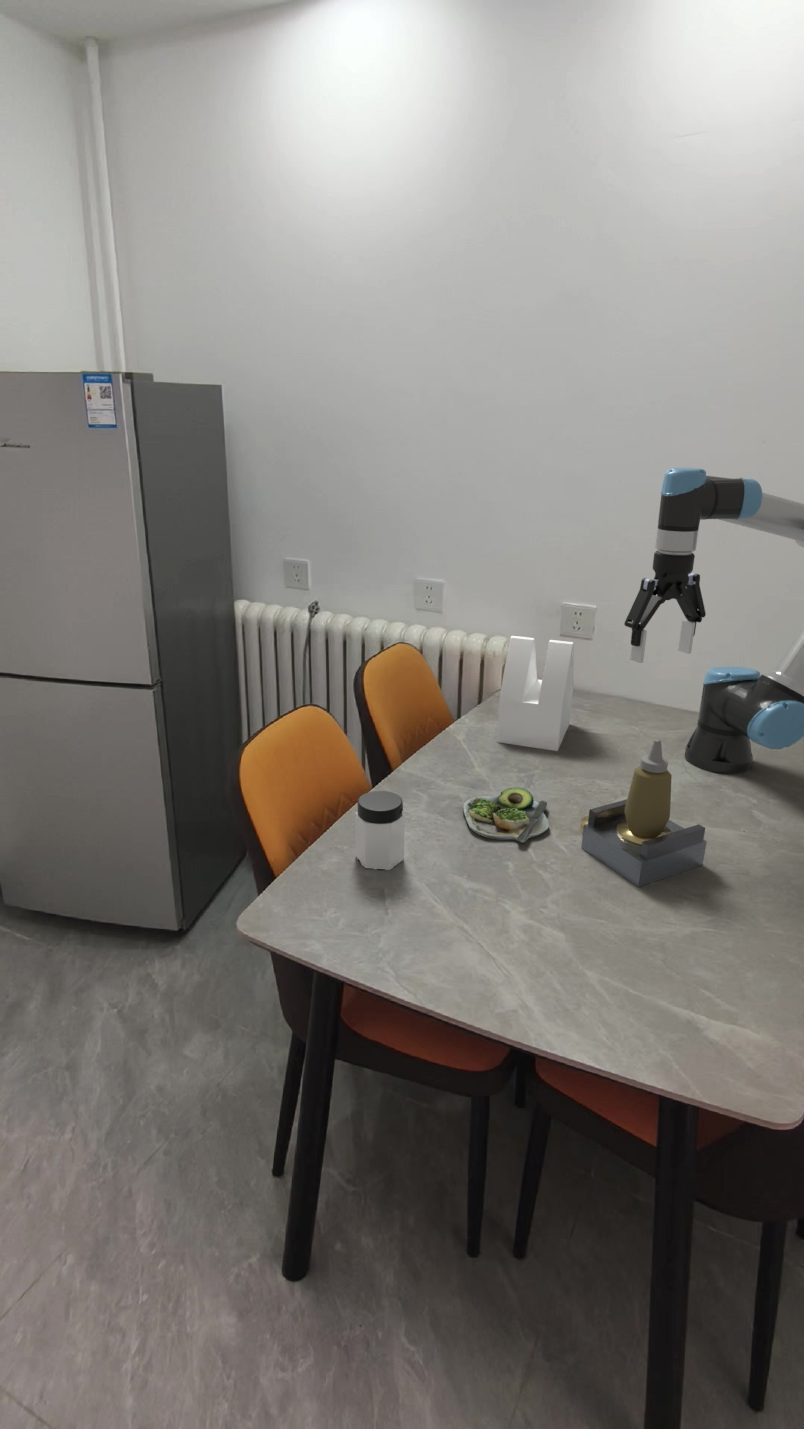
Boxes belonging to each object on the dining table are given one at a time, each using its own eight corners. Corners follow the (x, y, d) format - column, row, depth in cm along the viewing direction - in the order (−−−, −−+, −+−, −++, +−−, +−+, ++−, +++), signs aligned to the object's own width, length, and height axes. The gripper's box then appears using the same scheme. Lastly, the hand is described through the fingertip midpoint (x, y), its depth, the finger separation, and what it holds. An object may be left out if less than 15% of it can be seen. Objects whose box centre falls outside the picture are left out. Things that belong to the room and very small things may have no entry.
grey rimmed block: (643, 829, 158) (648, 793, 156) (702, 865, 146) (709, 826, 143) (581, 847, 151) (585, 810, 148) (638, 887, 139) (643, 847, 136)
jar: (410, 865, 144) (411, 806, 140) (369, 875, 141) (369, 815, 136) (389, 842, 152) (390, 786, 147) (350, 851, 148) (349, 794, 144)
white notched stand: (557, 751, 195) (567, 653, 186) (496, 742, 199) (502, 646, 191) (569, 724, 212) (578, 633, 203) (512, 716, 216) (519, 627, 208)
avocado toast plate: (563, 849, 151) (565, 828, 150) (470, 850, 150) (471, 828, 149) (543, 802, 169) (544, 783, 168) (459, 802, 169) (460, 783, 167)
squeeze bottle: (669, 844, 142) (684, 751, 136) (623, 838, 144) (635, 747, 137) (664, 822, 150) (678, 734, 143) (620, 818, 151) (632, 730, 145)
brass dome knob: (596, 821, 162) (597, 813, 161) (616, 835, 157) (618, 826, 156) (573, 828, 159) (574, 819, 158) (593, 842, 154) (594, 833, 153)
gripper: (703, 544, 163) (689, 643, 170) (613, 553, 151) (602, 660, 159) (734, 549, 157) (717, 652, 164) (642, 559, 145) (629, 670, 153)
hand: (661, 656), depth 162 cm, fingers open, 13 cm apart
